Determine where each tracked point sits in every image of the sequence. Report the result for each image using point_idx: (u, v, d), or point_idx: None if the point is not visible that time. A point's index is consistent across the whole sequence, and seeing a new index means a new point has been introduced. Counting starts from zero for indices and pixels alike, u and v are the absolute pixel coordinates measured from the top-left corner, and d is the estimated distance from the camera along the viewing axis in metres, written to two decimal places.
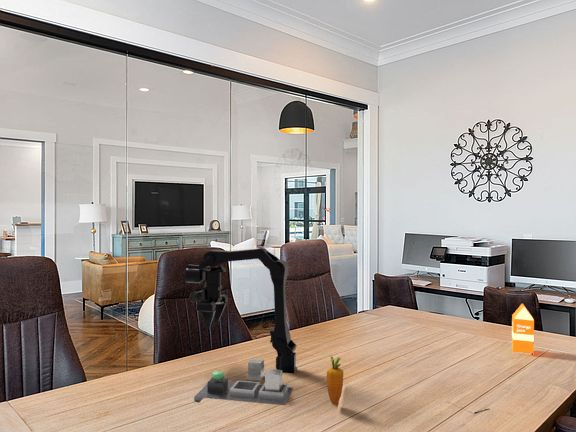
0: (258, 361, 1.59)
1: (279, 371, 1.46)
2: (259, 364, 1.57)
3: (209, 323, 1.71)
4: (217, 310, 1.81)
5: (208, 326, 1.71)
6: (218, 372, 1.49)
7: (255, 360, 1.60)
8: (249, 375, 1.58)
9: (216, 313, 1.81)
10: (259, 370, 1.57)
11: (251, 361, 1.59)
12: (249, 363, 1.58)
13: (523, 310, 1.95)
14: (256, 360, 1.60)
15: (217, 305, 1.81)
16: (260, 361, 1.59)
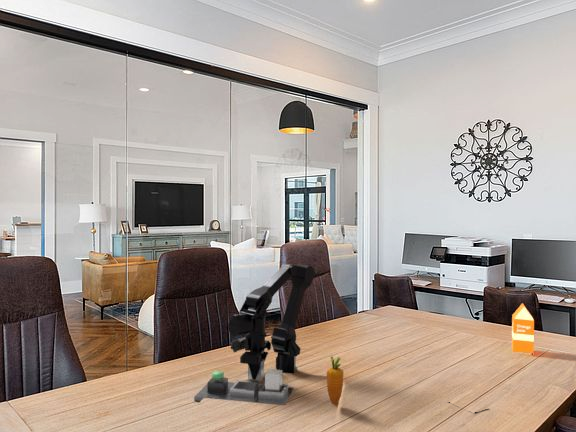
0: None
1: (279, 371, 1.46)
2: None
3: (255, 374, 1.57)
4: None
5: (254, 377, 1.57)
6: (218, 372, 1.49)
7: None
8: (249, 375, 1.58)
9: None
10: (259, 370, 1.57)
11: None
12: None
13: (523, 310, 1.95)
14: None
15: None
16: None
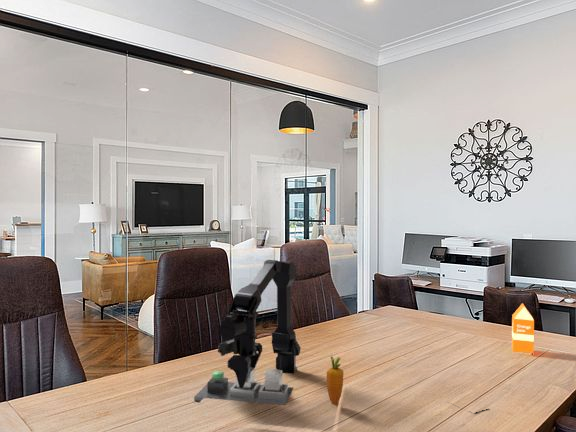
0: None
1: (279, 371, 1.46)
2: (249, 373, 1.45)
3: (243, 382, 1.42)
4: None
5: (241, 385, 1.42)
6: (218, 372, 1.49)
7: None
8: (238, 385, 1.45)
9: None
10: (249, 380, 1.45)
11: None
12: None
13: (523, 310, 1.95)
14: None
15: (250, 356, 1.52)
16: (250, 370, 1.46)
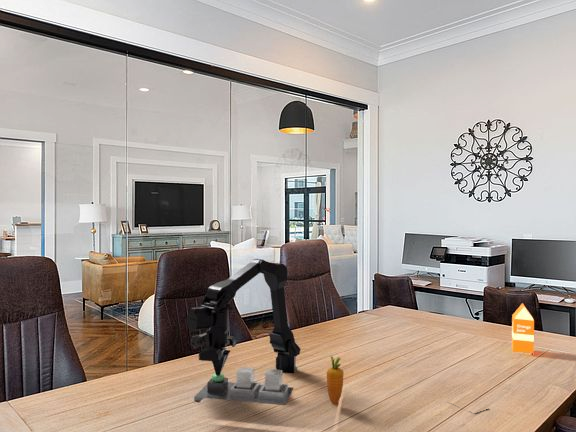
0: (248, 370, 1.46)
1: (279, 371, 1.46)
2: (249, 373, 1.45)
3: (219, 369, 1.48)
4: None
5: (218, 373, 1.48)
6: None
7: (245, 369, 1.47)
8: (238, 385, 1.45)
9: None
10: (249, 380, 1.45)
11: (240, 370, 1.46)
12: (238, 372, 1.45)
13: (523, 310, 1.95)
14: (245, 369, 1.47)
15: None
16: (250, 370, 1.46)
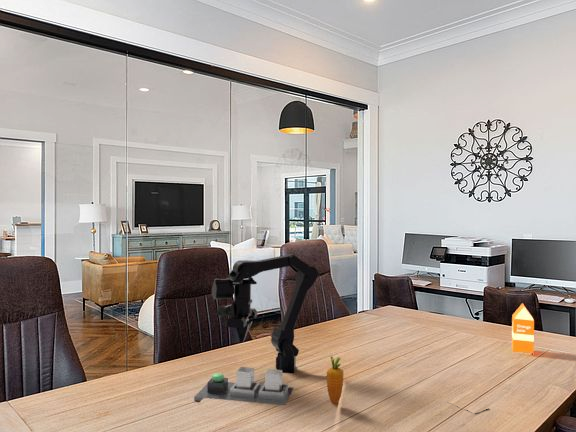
0: (248, 370, 1.46)
1: (279, 371, 1.46)
2: (249, 373, 1.45)
3: (243, 337, 1.63)
4: None
5: (242, 340, 1.63)
6: (218, 374, 1.49)
7: (245, 369, 1.47)
8: (238, 385, 1.45)
9: None
10: (249, 380, 1.45)
11: (240, 370, 1.46)
12: (238, 372, 1.45)
13: (523, 310, 1.95)
14: (245, 369, 1.47)
15: None
16: (250, 370, 1.46)
